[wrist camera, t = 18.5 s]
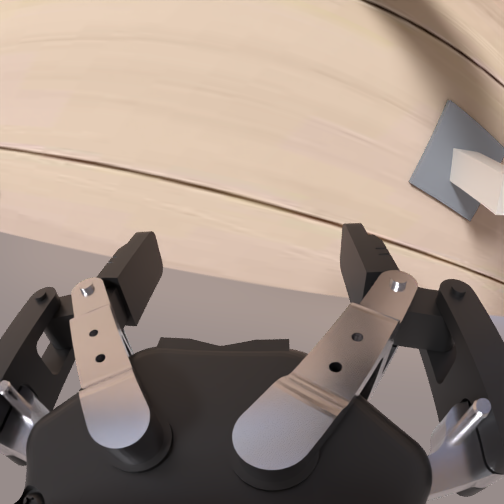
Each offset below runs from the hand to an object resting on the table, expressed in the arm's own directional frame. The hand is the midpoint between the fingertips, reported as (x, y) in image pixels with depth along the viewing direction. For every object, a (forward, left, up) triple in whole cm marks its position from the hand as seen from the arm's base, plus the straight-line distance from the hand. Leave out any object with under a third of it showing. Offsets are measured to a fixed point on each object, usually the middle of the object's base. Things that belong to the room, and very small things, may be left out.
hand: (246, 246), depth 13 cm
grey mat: (-10, +28, -28) cm, 41 cm away
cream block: (-10, +28, -27) cm, 40 cm away
